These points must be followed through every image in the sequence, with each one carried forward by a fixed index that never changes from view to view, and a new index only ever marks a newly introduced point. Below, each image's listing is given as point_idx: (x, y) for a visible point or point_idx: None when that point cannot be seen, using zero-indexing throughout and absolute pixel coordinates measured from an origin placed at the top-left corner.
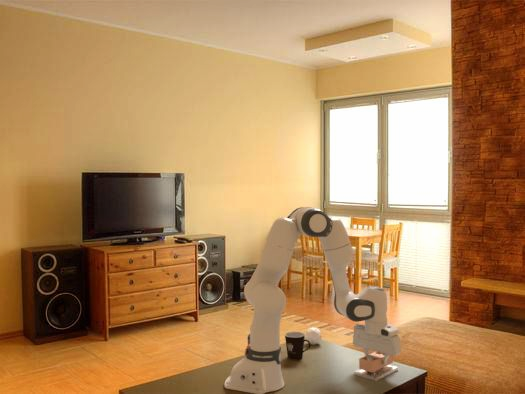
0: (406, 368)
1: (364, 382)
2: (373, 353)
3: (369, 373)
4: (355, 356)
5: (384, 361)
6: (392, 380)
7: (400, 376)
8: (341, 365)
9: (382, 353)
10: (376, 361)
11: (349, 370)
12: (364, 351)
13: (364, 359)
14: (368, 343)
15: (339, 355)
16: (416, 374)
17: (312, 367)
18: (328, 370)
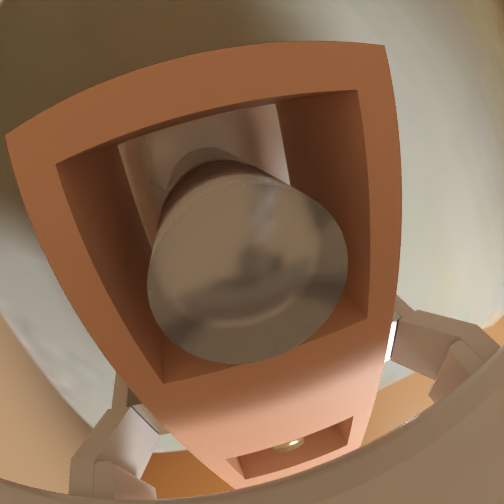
0: None
1: (103, 19)
2: (358, 405)
3: (184, 154)
4: (454, 316)
5: (115, 395)
6: (27, 273)
7: (82, 362)
8: (464, 165)
9: (302, 453)
10: (82, 293)
11: (399, 125)
12: (458, 333)
13: (274, 79)
14: (497, 495)
15: (496, 261)
16: (92, 423)
17: (494, 39)
18: (452, 37)
